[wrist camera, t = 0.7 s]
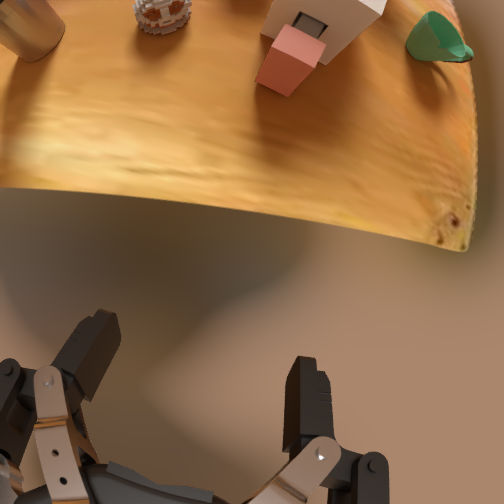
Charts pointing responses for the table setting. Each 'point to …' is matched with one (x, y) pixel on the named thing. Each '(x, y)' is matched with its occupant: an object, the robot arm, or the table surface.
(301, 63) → the key
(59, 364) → the robot arm
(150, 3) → the decorative ornament
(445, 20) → the mug
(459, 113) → the table surface
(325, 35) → the box
